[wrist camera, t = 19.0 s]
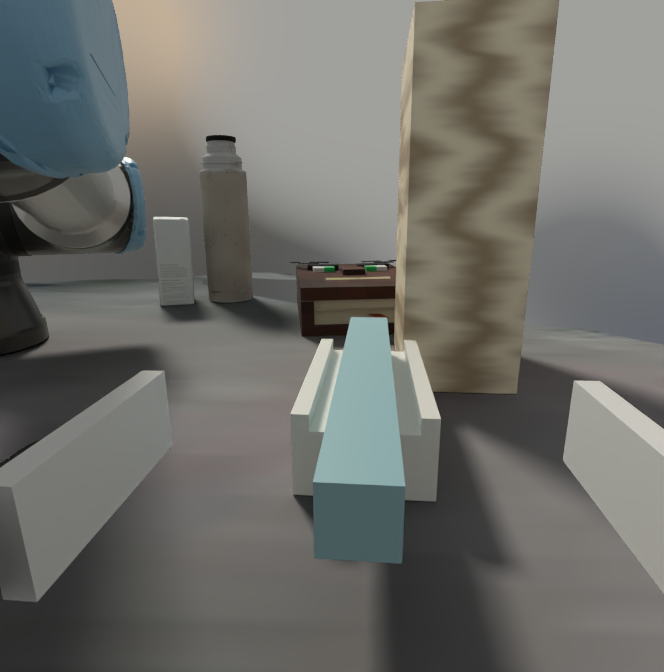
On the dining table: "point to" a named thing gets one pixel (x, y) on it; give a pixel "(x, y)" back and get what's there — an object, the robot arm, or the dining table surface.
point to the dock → (412, 408)
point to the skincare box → (174, 260)
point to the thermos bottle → (225, 222)
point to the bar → (361, 455)
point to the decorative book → (344, 295)
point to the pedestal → (470, 185)
